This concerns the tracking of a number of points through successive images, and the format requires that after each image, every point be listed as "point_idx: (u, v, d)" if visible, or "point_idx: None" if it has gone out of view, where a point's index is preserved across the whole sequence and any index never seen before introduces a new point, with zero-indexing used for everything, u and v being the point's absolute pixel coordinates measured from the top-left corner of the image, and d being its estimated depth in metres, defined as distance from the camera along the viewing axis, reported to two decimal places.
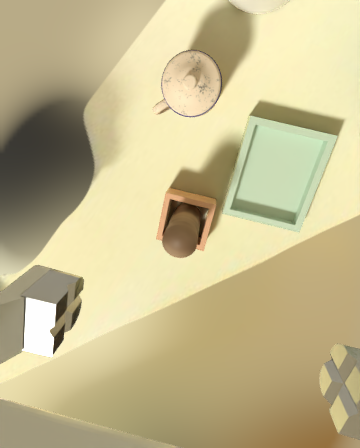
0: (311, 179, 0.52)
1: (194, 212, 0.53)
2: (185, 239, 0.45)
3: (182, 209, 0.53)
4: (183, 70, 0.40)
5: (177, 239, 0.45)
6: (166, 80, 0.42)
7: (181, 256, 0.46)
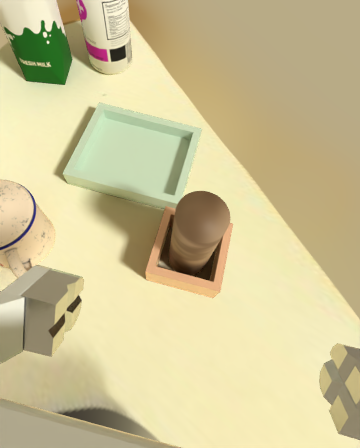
0: (143, 123, 0.48)
1: None
2: (198, 206, 0.29)
3: (170, 247, 0.36)
4: None
5: (198, 217, 0.28)
6: None
7: (227, 214, 0.29)
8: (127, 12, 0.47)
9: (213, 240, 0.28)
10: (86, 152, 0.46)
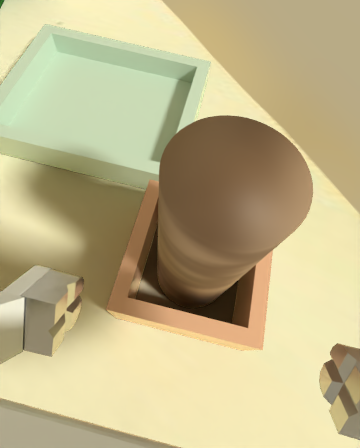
0: (116, 56, 0.30)
1: None
2: (224, 153, 0.11)
3: (158, 258, 0.18)
4: None
5: (226, 181, 0.10)
6: None
7: (302, 172, 0.11)
8: None
9: (271, 245, 0.10)
10: (20, 99, 0.27)
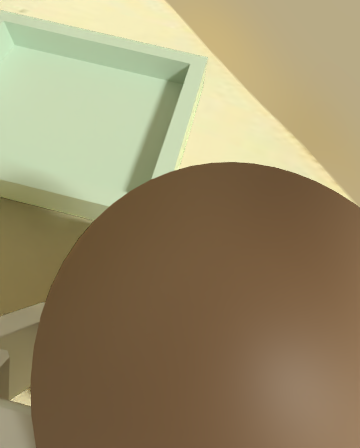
0: (87, 50, 0.24)
1: None
2: (224, 268, 0.04)
3: None
4: None
5: (228, 366, 0.04)
6: None
7: None
8: None
9: None
10: None
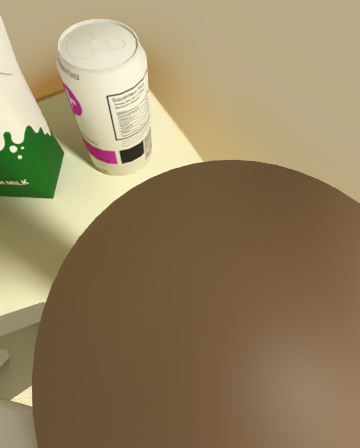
0: None
1: None
2: (224, 266, 0.04)
3: None
4: None
5: (229, 364, 0.04)
6: None
7: None
8: (147, 98, 0.29)
9: None
10: None
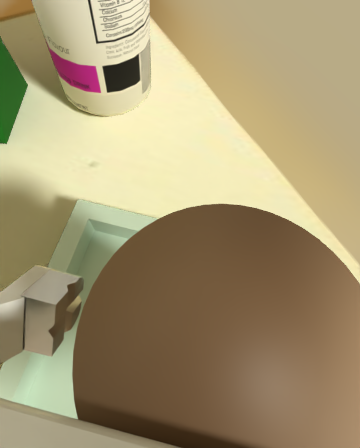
0: None
1: None
2: (213, 291, 0.05)
3: None
4: None
5: (214, 365, 0.05)
6: None
7: None
8: None
9: None
10: None
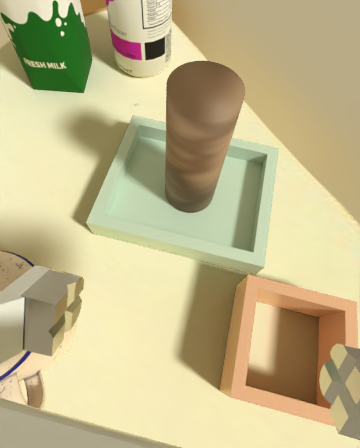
0: None
1: None
2: (200, 77, 0.21)
3: (165, 166, 0.28)
4: None
5: (200, 89, 0.20)
6: None
7: (240, 86, 0.20)
8: None
9: (222, 117, 0.19)
10: (118, 187, 0.32)
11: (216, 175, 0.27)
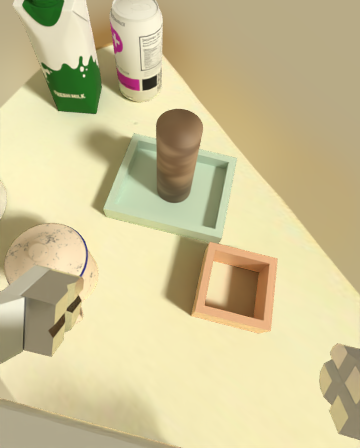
0: None
1: None
2: (176, 120, 0.34)
3: None
4: (23, 262, 0.30)
5: (176, 128, 0.34)
6: None
7: (200, 126, 0.34)
8: (161, 44, 0.48)
9: (188, 145, 0.33)
10: (123, 184, 0.46)
11: (190, 177, 0.41)
